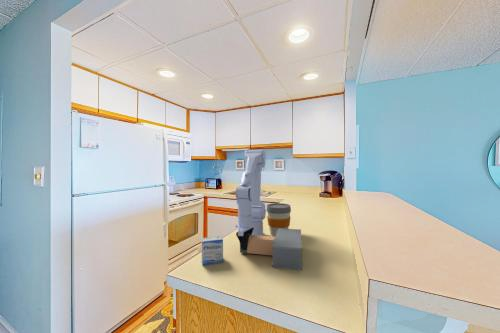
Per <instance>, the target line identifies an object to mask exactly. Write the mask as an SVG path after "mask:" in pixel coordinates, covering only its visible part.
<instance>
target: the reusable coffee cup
mask: <svg viewBox="0 0 500 333" xmlns="http://www.w3.org/2000/svg"><path fill="white" fill-rule="evenodd" d="M291 212H292V209H291V204H288V203H278V202H277V203H275V202H274V203H269V204H267V205H266V214H267V216H266V219H267V225H268V227H269V234H270V235H269V236H273V237H275V236H276V233H277V230H278V228H283V229H290V228H289V227H290V225H291Z"/></svg>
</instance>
